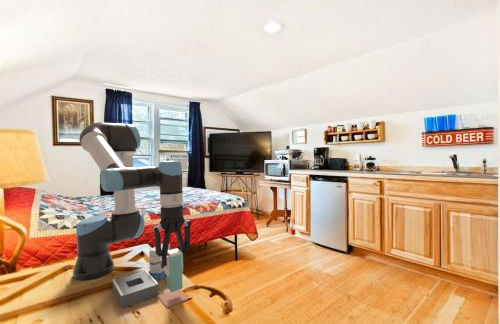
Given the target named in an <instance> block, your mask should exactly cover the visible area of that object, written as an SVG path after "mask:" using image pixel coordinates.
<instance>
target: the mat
mask: <svg viewBox="0 0 500 324" xmlns="http://www.w3.org/2000/svg"><path fill="white" fill-rule="evenodd" d="M157 298H158V299H159V300H160V301H161V303H162V305H164V307H166V309H169V308H171V307H174V306H176V305H178V304H181V303H184V302H186V301H189V300H190V299H189V298H188V297H187V296H186V295H185V293H183V292H182V291H181V290H180V289H179V290H176V291H174V292H171V291H170V290H168V291H166V292H163V293H160V294H158V296H157ZM188 299H189V300H188Z"/></svg>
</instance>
